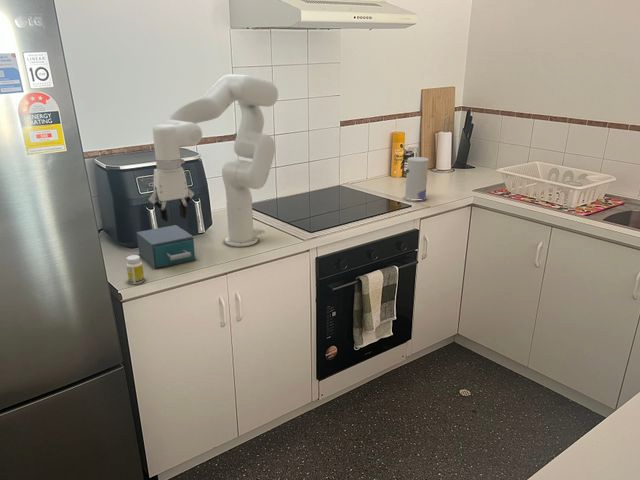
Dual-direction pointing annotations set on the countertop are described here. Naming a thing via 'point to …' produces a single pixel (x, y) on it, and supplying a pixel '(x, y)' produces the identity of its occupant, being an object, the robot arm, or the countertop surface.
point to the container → (416, 178)
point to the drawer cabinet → (160, 241)
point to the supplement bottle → (134, 269)
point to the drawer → (174, 252)
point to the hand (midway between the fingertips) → (174, 218)
